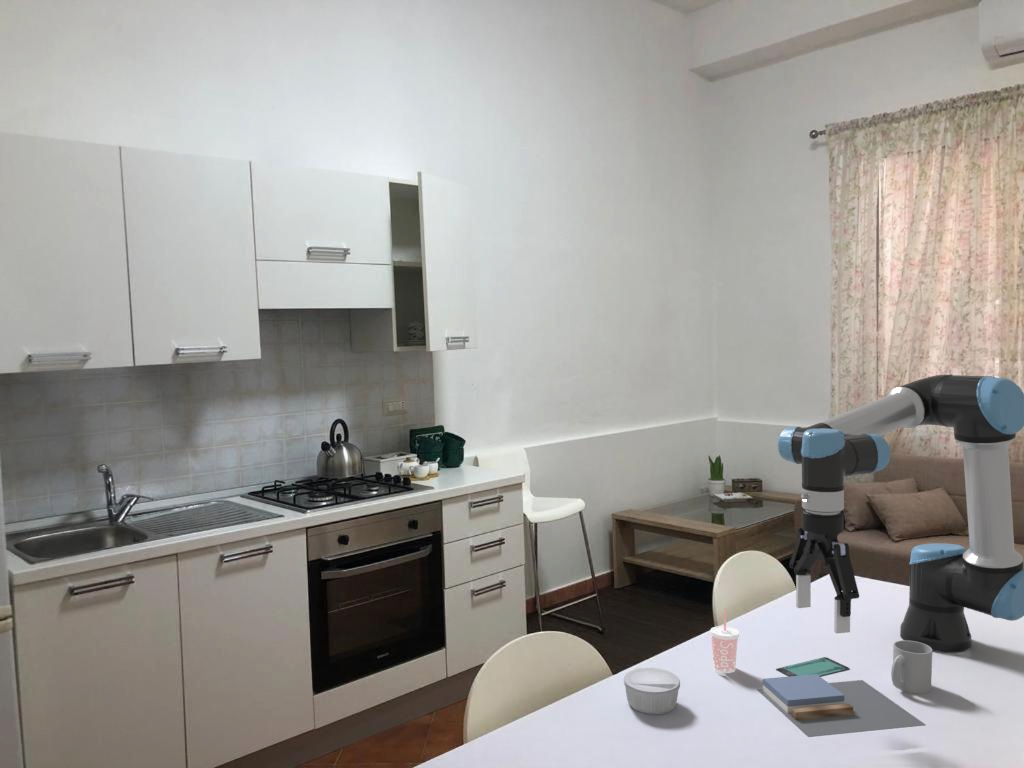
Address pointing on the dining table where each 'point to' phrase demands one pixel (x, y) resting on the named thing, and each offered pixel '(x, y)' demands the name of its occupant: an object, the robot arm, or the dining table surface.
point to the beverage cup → (724, 648)
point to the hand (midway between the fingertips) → (821, 619)
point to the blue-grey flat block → (801, 692)
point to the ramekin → (651, 690)
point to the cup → (912, 666)
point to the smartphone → (813, 668)
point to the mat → (855, 712)
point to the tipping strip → (822, 711)
